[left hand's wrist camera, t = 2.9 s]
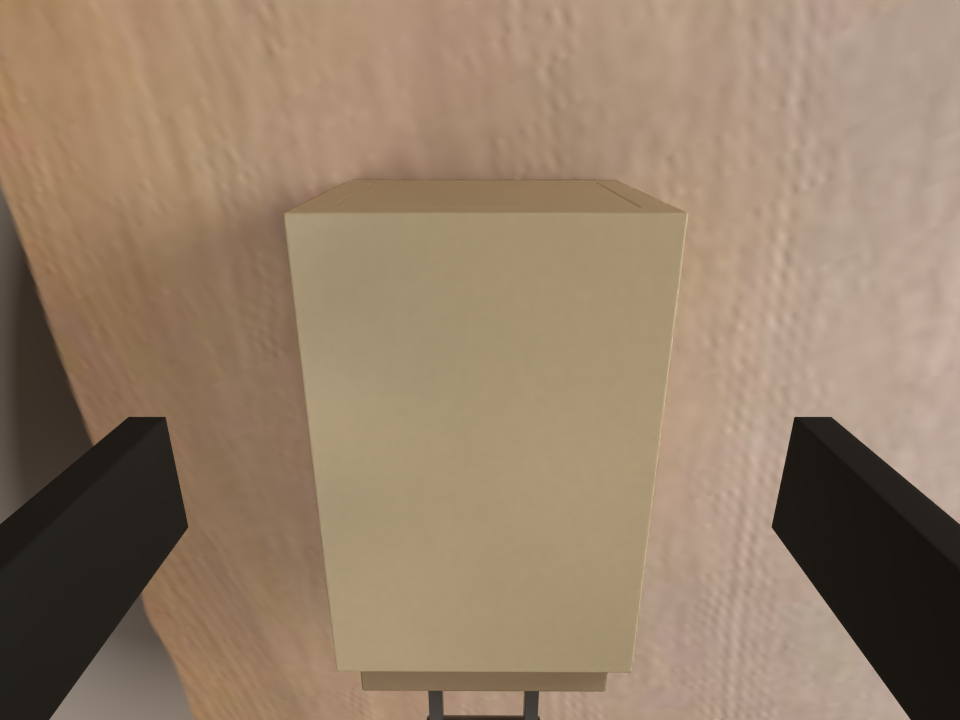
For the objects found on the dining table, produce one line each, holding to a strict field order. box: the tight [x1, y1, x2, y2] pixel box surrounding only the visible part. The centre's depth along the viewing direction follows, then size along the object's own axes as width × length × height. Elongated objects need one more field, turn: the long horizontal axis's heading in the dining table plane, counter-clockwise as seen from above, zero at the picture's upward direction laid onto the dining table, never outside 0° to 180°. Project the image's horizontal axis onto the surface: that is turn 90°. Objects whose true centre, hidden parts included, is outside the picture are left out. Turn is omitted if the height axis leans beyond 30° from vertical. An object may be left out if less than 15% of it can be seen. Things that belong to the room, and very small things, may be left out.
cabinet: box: [283, 180, 688, 672], centre depth 24 cm, size 16×11×9 cm, turn 0°
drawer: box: [361, 671, 607, 720], centre depth 26 cm, size 21×10×7 cm, turn 0°
